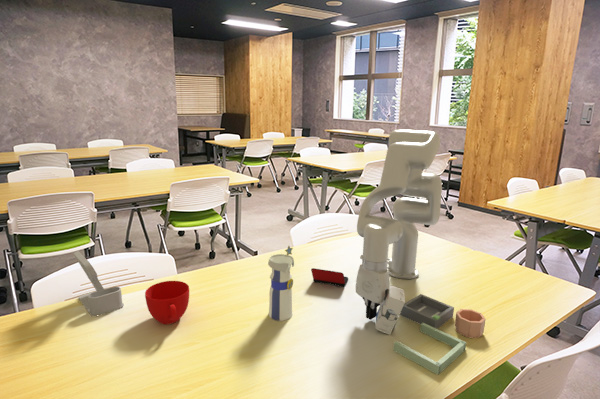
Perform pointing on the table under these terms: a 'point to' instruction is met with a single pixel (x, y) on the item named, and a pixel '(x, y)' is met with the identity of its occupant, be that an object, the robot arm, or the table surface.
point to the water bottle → (281, 286)
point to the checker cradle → (427, 311)
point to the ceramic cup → (167, 301)
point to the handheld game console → (329, 277)
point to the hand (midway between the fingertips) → (370, 317)
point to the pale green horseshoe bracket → (427, 362)
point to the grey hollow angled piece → (98, 292)
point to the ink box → (390, 310)
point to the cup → (469, 323)
